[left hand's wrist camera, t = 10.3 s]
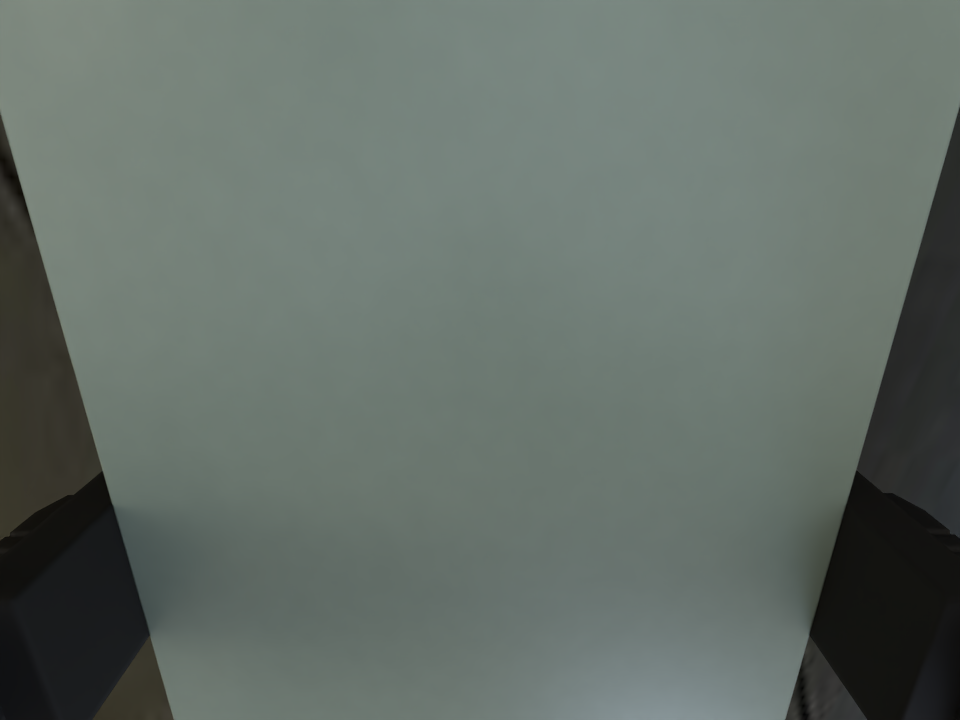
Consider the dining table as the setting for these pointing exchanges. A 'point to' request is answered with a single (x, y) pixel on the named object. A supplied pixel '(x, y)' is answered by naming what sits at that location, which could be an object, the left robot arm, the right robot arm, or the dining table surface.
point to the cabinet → (479, 331)
